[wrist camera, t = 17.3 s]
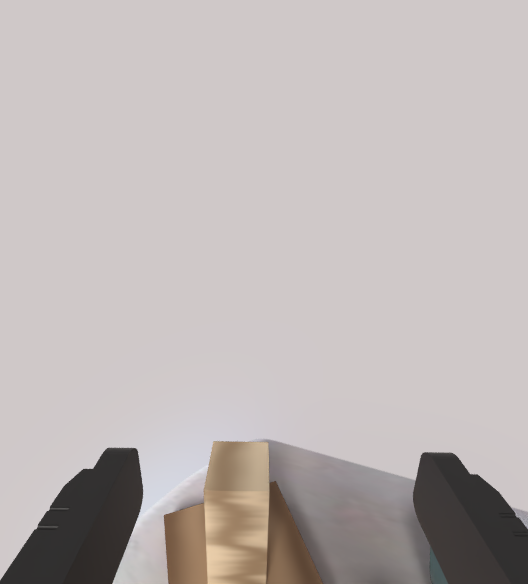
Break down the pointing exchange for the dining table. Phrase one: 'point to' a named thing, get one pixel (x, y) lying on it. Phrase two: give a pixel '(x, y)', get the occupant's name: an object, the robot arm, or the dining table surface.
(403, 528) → the dining table surface
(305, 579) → the walnut slab
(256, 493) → the oak pillar
